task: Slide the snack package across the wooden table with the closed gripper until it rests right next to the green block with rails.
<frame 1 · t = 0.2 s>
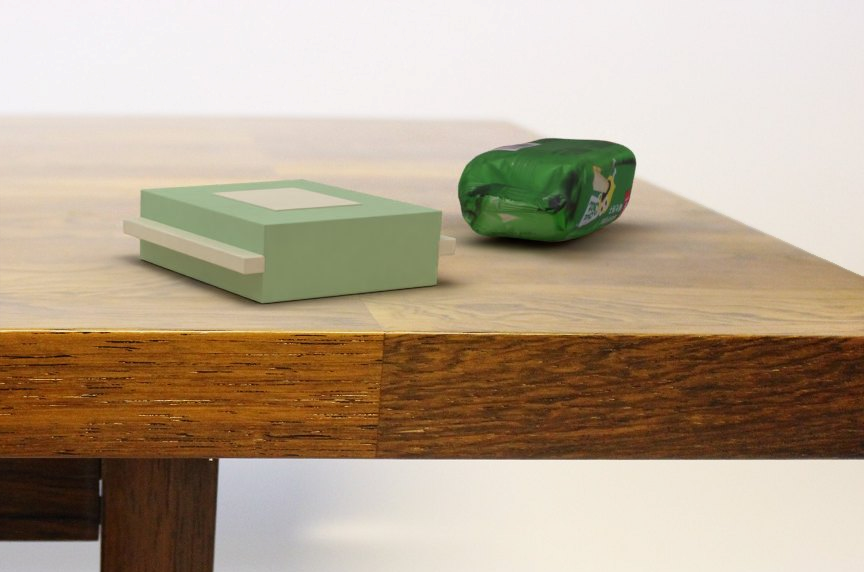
green block with rails: (282, 271, 75), on the table
snack package: (544, 238, 86), on the table
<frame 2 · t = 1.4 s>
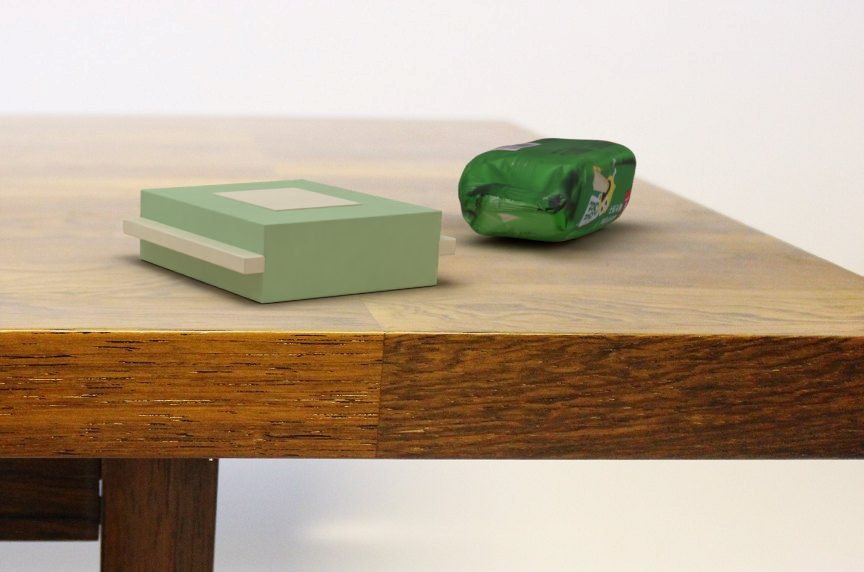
nothing on the table moved.
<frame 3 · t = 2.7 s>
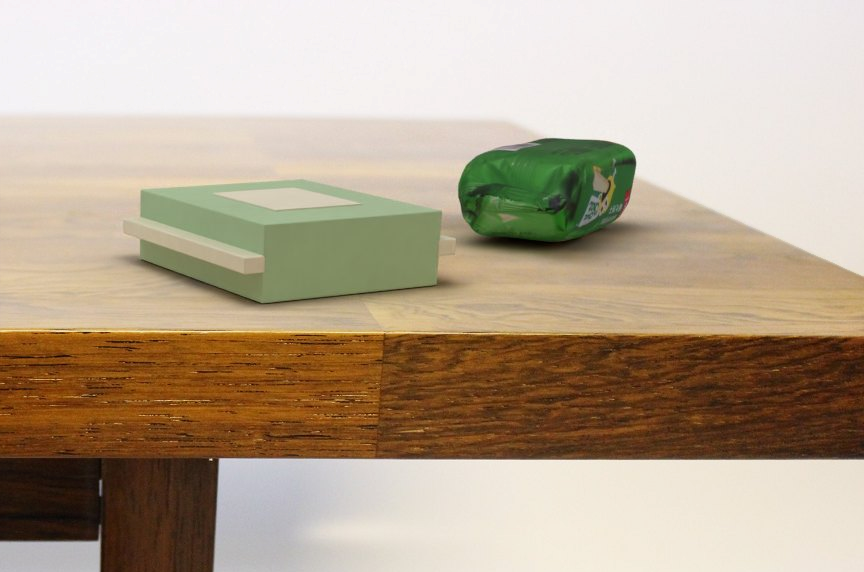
nothing on the table moved.
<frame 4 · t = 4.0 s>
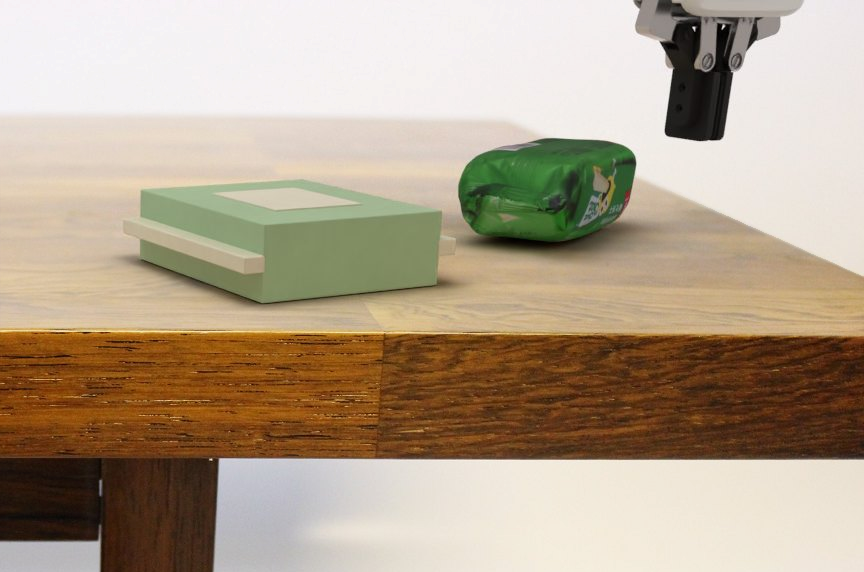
hand: (693, 137, 90), 5 cm above the table, tool pointing down, fingers closed
nothing on the table moved.
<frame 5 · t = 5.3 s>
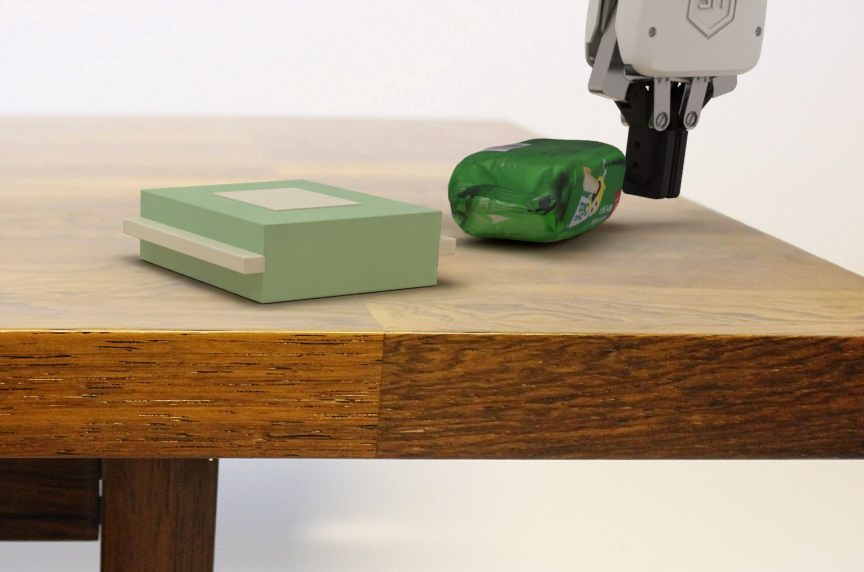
hand: (649, 195, 89), 2 cm above the table, tool pointing down, fingers closed
snack package: (534, 238, 86), on the table, touching gripper
everything else where it was.
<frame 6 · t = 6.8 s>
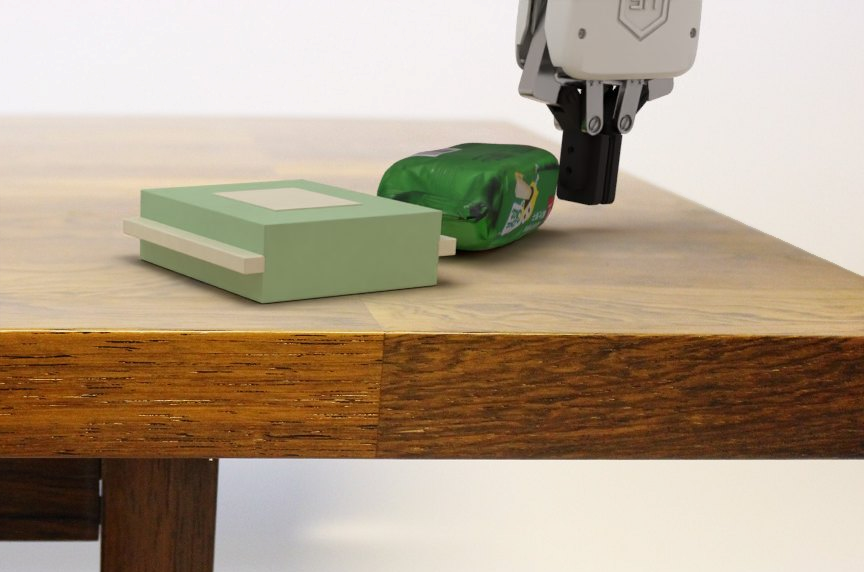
hand: (584, 201, 87), 2 cm above the table, tool pointing down, fingers closed
snack package: (467, 246, 83), on the table, touching gripper
everything else where it was.
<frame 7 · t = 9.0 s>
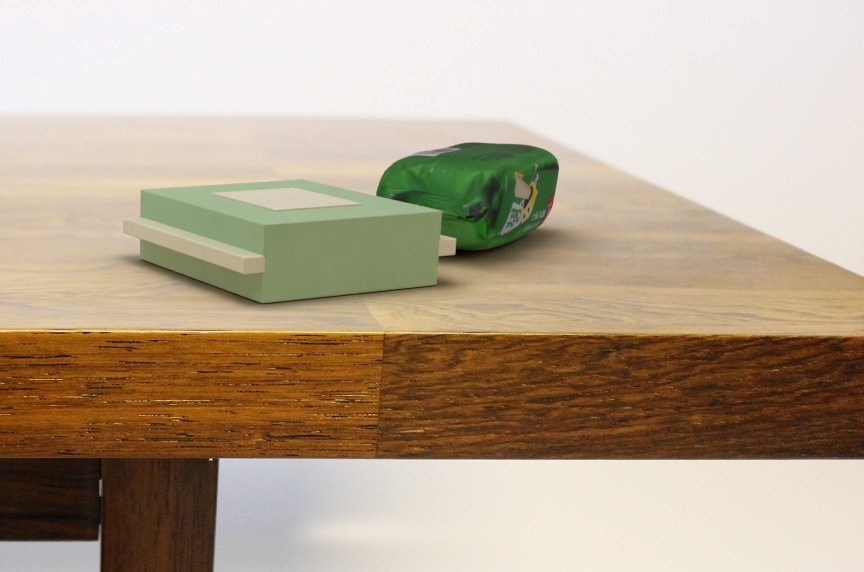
snack package: (466, 245, 83), on the table
everything else where it was.
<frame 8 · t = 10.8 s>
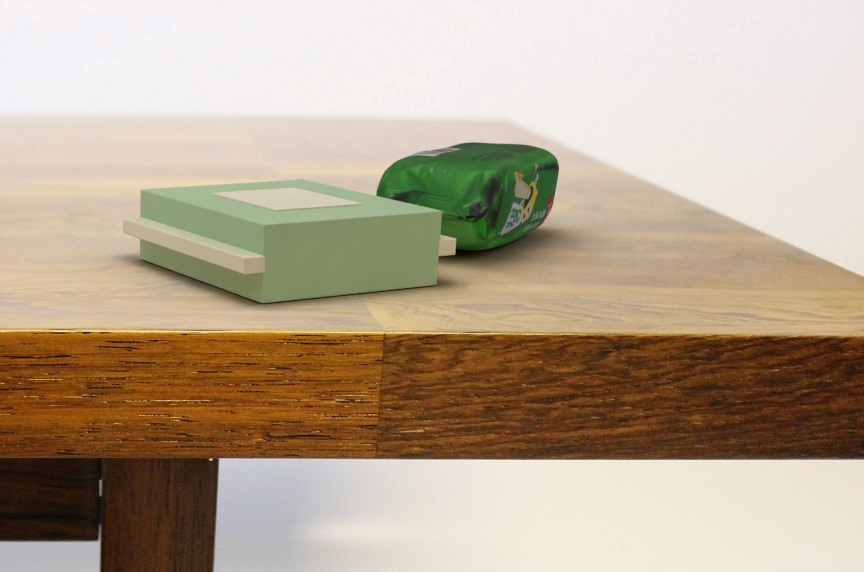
nothing on the table moved.
at the end: snack package inside the target area (1.4 cm from its centre), on the table; snack package 14.3 cm from the green block with rails (horizontally); green block with rails moved 0.0 cm from its start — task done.
